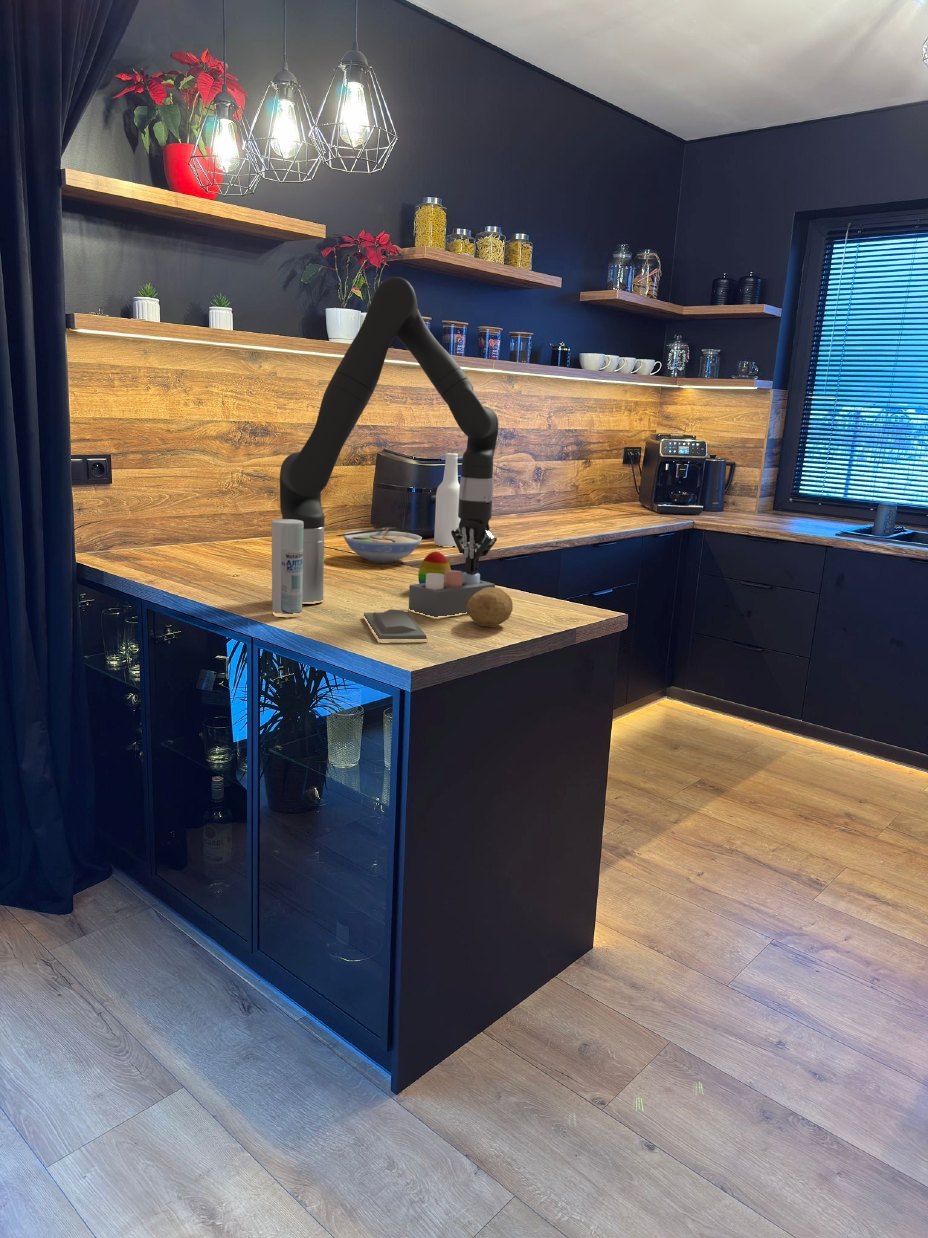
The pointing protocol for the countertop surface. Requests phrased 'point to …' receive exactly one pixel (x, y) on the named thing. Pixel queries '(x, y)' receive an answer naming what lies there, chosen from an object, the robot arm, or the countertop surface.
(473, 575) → the blue grey egg
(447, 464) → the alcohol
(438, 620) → the countertop surface
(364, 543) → the ramen bowl
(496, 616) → the potato
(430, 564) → the decorative egg
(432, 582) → the white egg
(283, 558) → the spray can
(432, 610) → the grey rectangular block
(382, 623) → the soap mold
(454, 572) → the brown egg
